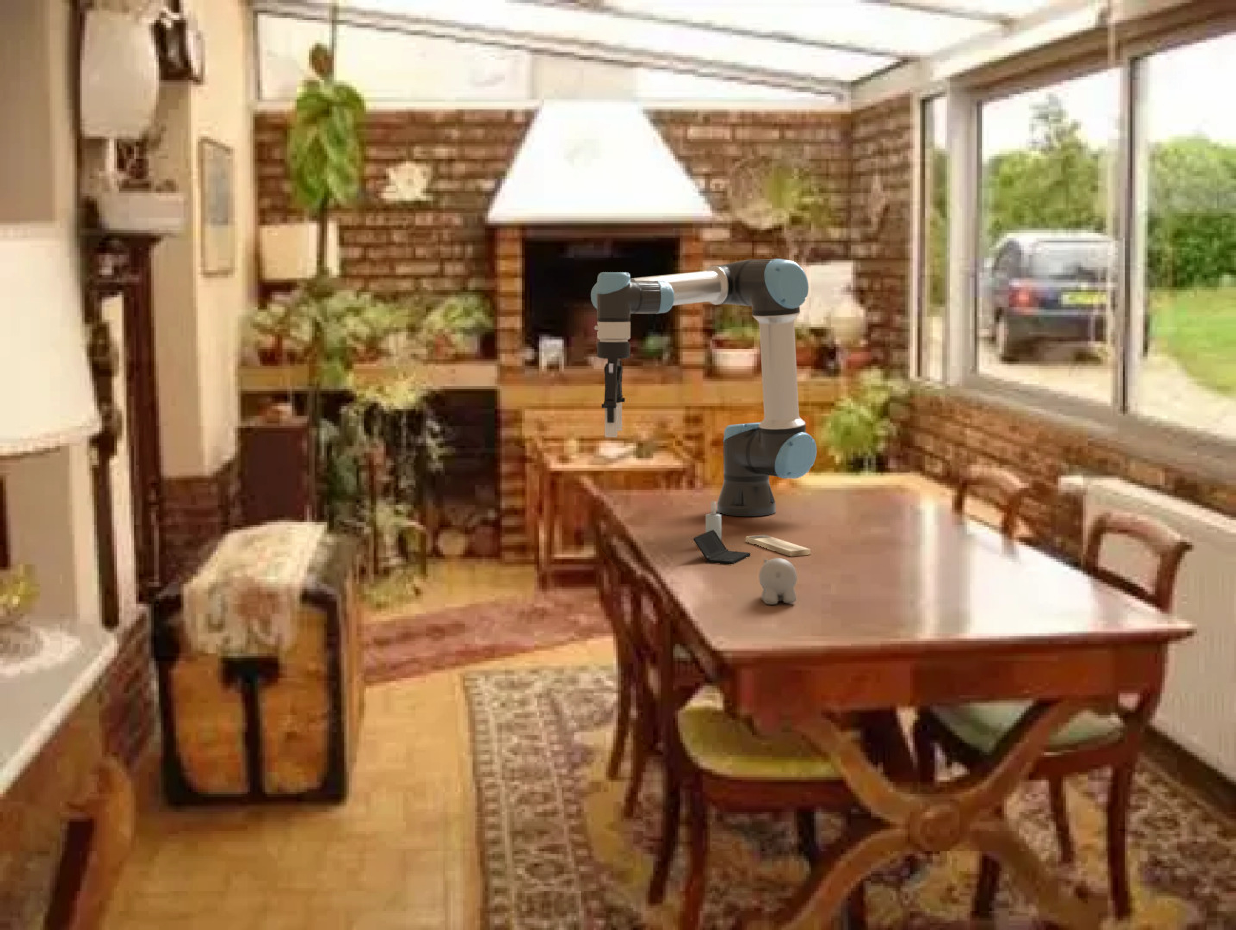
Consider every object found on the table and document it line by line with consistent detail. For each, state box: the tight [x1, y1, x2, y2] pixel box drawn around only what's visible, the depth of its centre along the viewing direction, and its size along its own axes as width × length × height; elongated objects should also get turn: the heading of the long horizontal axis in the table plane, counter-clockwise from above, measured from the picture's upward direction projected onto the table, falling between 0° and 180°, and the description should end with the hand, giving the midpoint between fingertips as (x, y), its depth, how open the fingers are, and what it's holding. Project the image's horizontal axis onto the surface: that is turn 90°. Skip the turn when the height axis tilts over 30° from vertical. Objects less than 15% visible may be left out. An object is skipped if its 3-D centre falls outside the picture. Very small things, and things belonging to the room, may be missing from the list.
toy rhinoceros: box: [758, 557, 798, 606], centre depth 296 cm, size 7×12×8 cm, turn 3°
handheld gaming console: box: [692, 530, 751, 565], centre depth 337 cm, size 12×7×10 cm
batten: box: [745, 534, 811, 558], centre depth 348 cm, size 5×20×1 cm, turn 25°
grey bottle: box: [705, 501, 722, 541], centre depth 352 cm, size 4×4×10 cm
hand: (613, 434), depth 352 cm, fingers open, 13 cm apart
